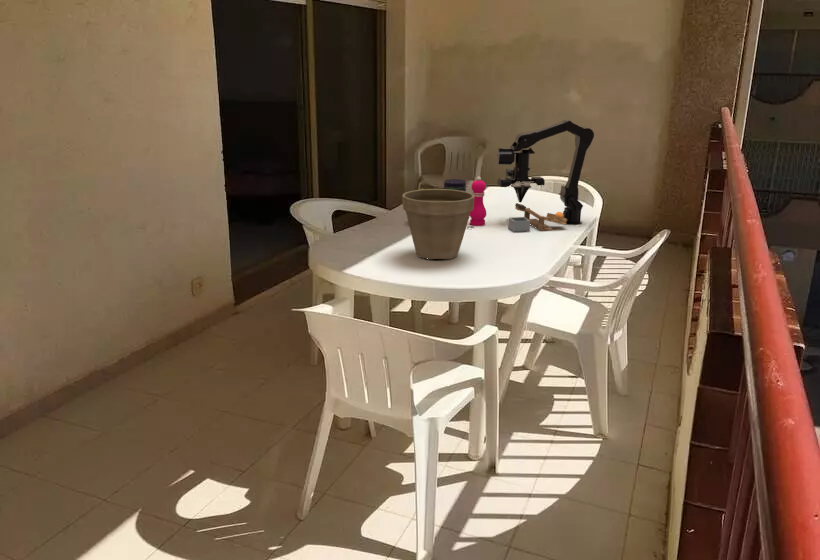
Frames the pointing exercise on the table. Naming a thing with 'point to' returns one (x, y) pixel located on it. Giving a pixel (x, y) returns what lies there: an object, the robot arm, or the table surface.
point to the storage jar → (455, 184)
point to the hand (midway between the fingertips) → (519, 202)
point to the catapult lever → (548, 218)
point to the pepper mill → (478, 203)
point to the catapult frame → (537, 222)
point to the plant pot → (437, 220)
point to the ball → (559, 214)
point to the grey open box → (519, 224)
